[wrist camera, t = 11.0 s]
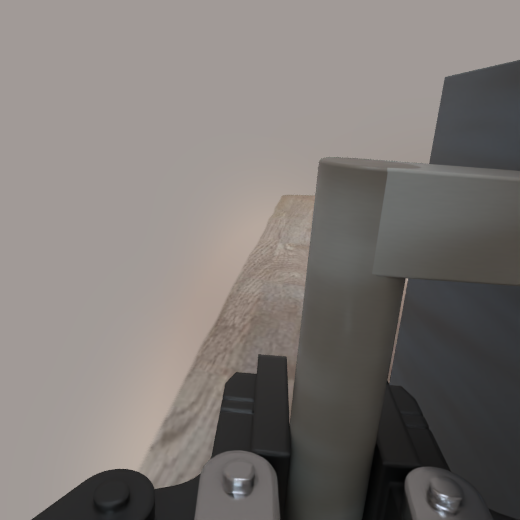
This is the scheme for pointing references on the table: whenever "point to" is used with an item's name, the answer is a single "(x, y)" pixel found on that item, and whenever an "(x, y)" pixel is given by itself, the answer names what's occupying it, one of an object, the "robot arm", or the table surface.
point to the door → (415, 306)
